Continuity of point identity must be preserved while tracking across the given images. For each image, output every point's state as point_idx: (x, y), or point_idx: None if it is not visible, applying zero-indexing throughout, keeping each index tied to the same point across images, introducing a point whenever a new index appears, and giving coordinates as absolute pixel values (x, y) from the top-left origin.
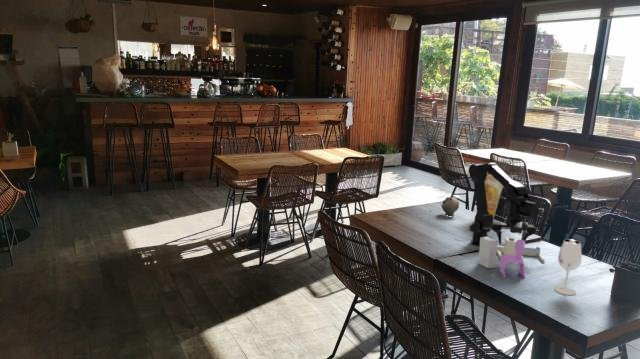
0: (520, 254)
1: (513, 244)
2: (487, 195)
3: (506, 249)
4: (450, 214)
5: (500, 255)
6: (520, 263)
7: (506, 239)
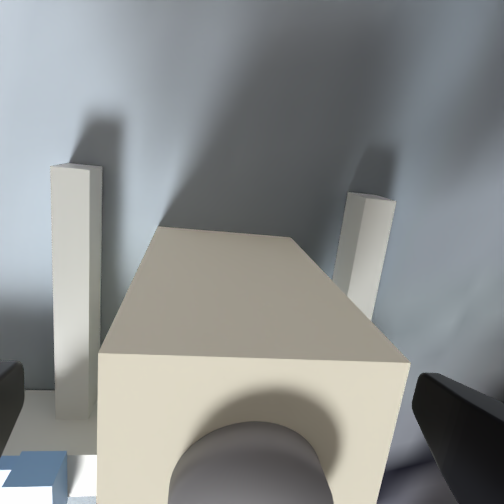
0: None
1: (220, 317)
2: None
3: (325, 274)
4: None
5: (390, 201)
6: None
7: (374, 487)
